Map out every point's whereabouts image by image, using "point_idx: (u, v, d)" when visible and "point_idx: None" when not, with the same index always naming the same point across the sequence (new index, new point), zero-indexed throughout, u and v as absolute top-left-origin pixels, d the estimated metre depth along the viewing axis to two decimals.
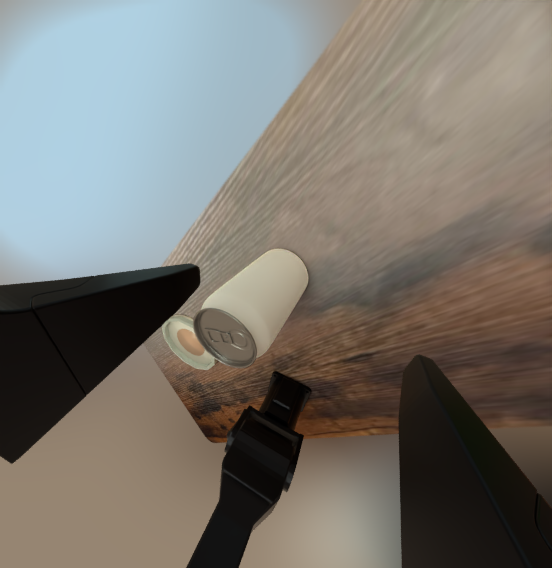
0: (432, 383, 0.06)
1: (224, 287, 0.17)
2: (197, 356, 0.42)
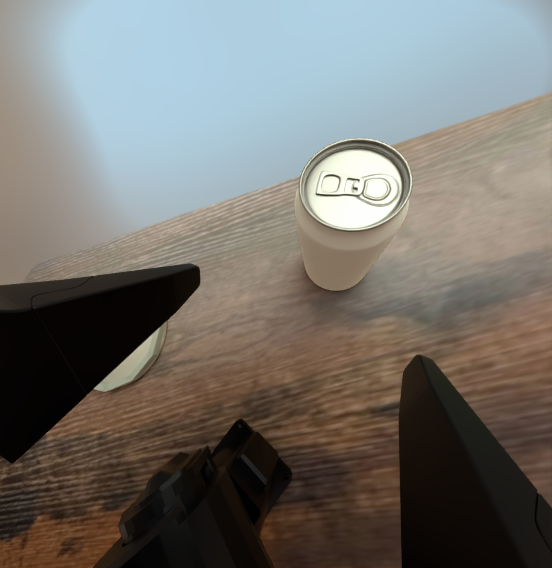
0: (432, 383, 0.06)
1: None
2: None
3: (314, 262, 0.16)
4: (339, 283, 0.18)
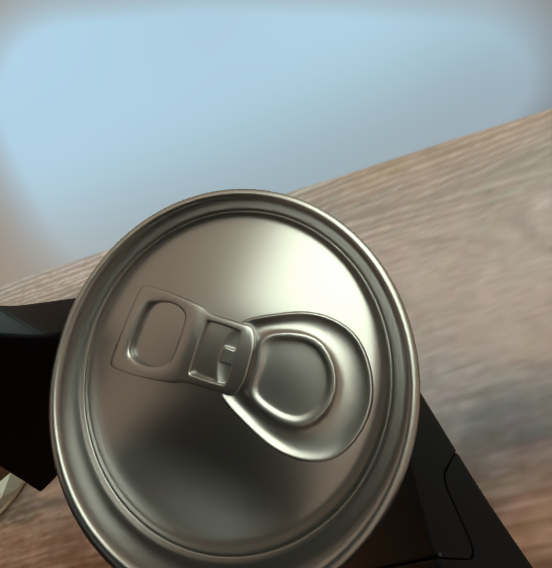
0: None
1: None
2: None
3: None
4: None
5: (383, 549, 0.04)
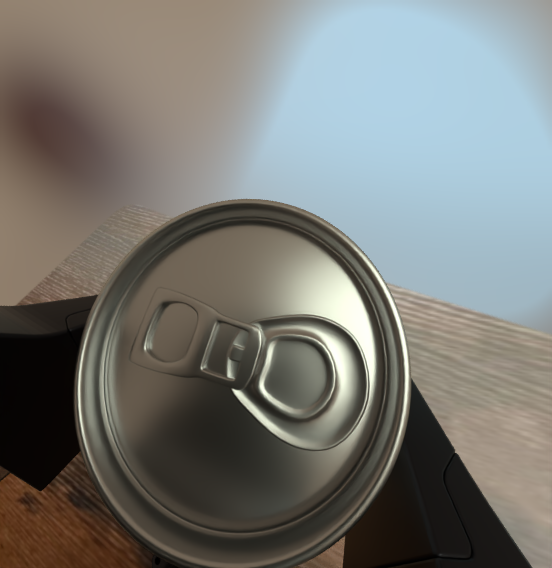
0: None
1: None
2: None
3: None
4: None
5: (383, 549, 0.04)
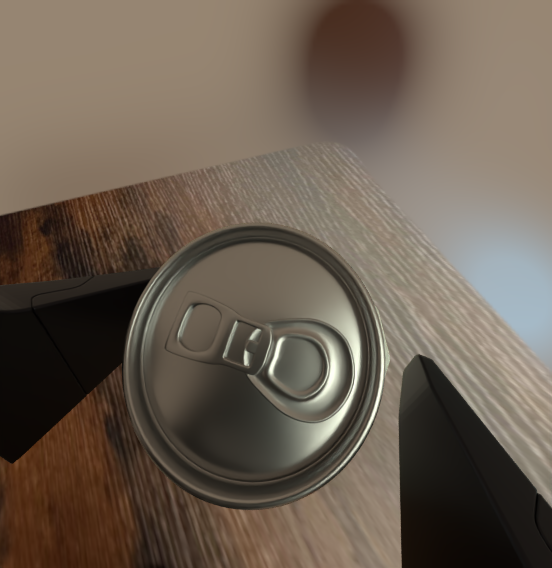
0: (432, 383, 0.06)
1: None
2: None
3: None
4: None
5: None
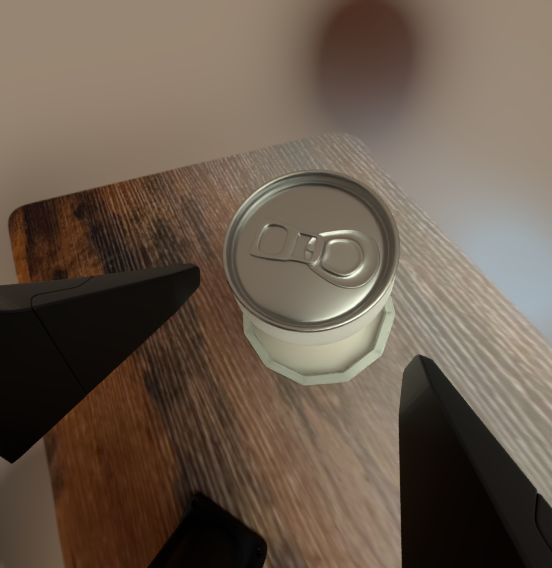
0: (432, 383, 0.06)
1: None
2: None
3: None
4: None
5: None
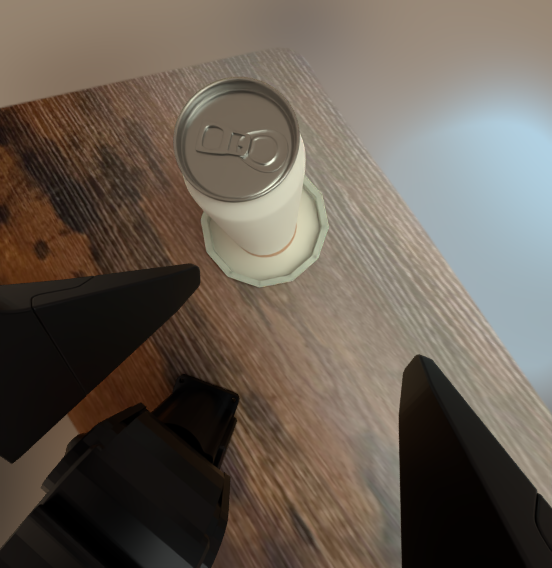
0: (432, 383, 0.06)
1: None
2: None
3: None
4: (258, 249, 0.18)
5: None
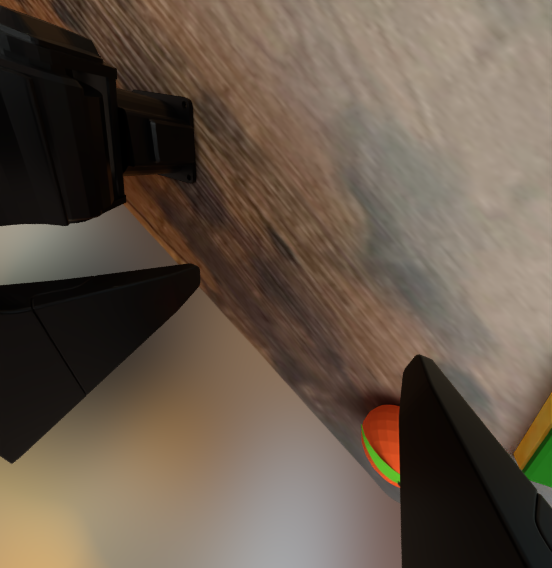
0: (432, 383, 0.06)
1: None
2: None
3: None
4: None
5: None
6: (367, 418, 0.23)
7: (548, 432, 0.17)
